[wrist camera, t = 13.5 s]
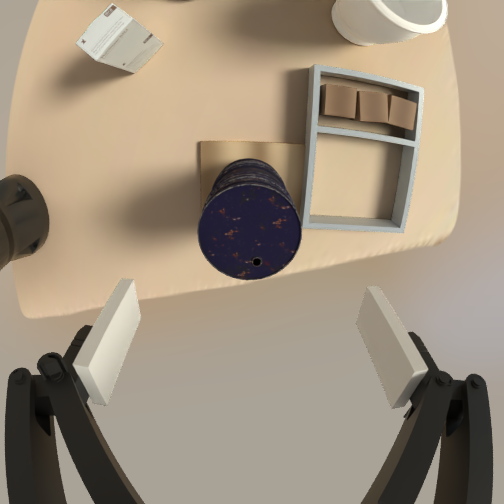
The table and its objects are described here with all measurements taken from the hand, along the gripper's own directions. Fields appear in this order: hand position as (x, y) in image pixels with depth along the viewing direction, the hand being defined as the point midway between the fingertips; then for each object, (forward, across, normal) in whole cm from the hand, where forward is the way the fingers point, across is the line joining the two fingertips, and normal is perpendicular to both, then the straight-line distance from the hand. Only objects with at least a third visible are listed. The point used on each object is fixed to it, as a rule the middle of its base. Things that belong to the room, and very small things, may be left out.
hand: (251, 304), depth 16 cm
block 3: (+28, +20, +13) cm, 36 cm away
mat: (+28, +1, -1) cm, 28 cm away
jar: (+28, +14, +26) cm, 41 cm away
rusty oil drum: (+27, 0, -1) cm, 27 cm away
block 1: (+28, +11, +12) cm, 32 cm away
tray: (+27, +16, +6) cm, 32 cm away
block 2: (+28, +16, +12) cm, 34 cm away
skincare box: (+28, -16, +20) cm, 37 cm away
